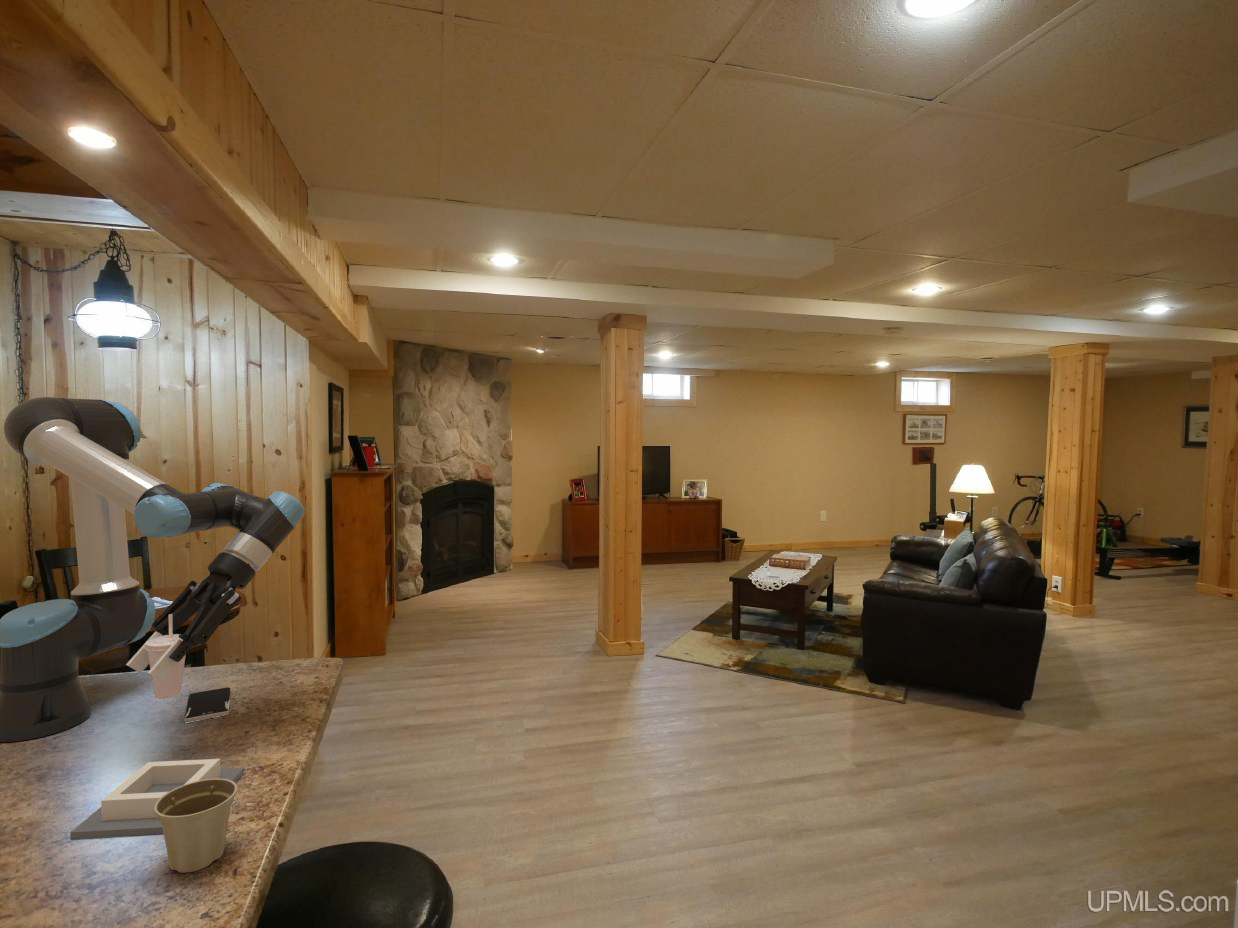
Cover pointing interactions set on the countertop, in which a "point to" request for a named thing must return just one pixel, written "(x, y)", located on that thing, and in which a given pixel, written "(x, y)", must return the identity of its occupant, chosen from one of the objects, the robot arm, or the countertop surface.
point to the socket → (147, 797)
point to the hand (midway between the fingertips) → (144, 672)
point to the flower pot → (196, 822)
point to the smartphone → (207, 704)
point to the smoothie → (155, 652)
